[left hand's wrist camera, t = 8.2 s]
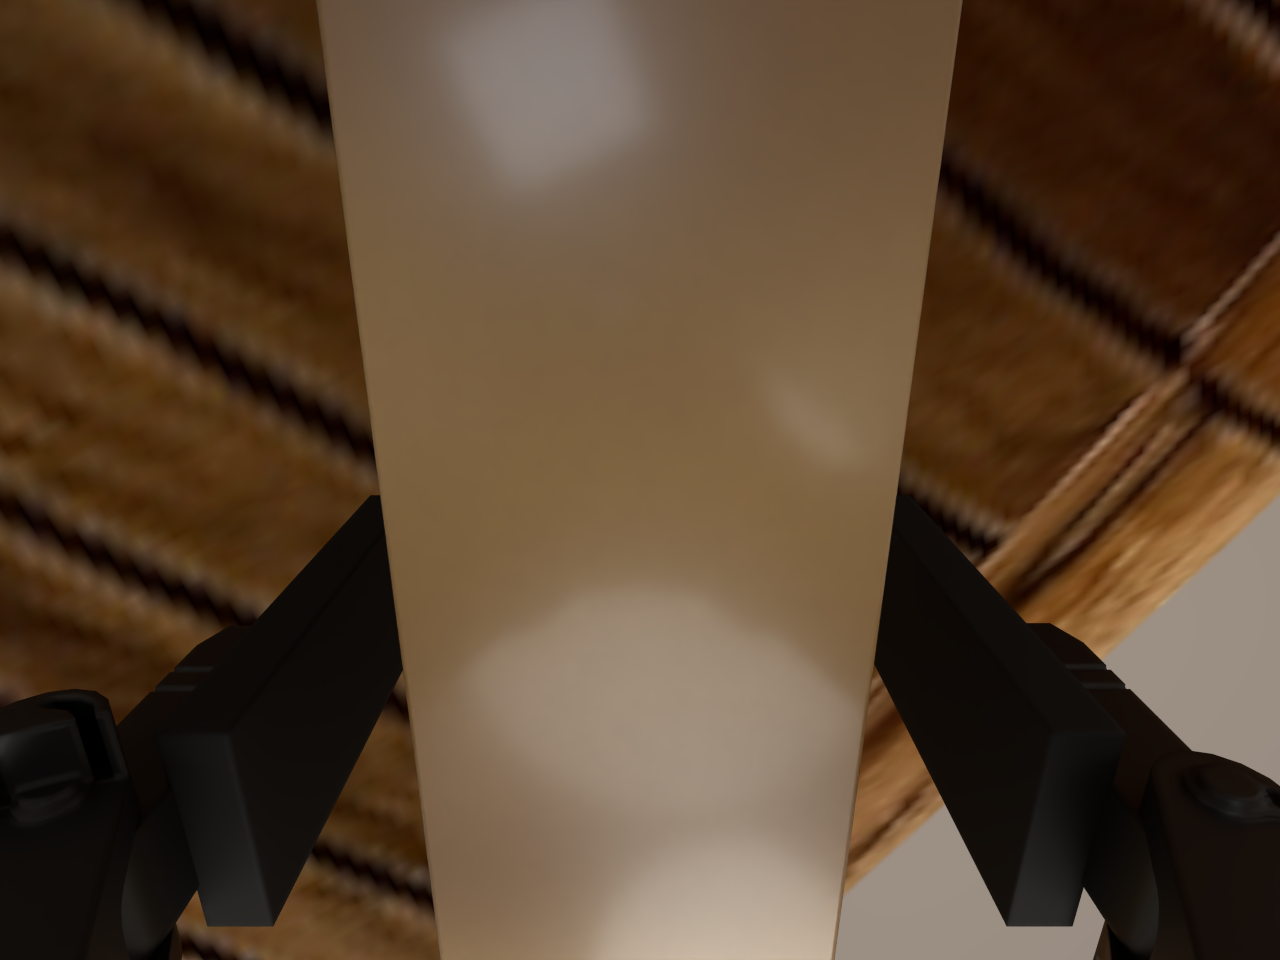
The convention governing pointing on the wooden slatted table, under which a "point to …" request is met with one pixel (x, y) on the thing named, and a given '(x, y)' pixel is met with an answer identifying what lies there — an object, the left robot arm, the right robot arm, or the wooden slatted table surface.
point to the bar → (638, 441)
